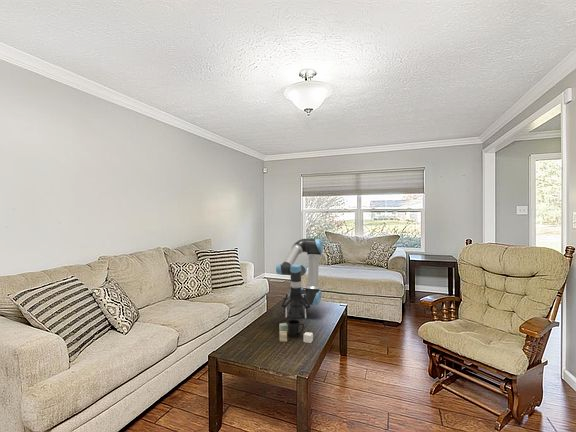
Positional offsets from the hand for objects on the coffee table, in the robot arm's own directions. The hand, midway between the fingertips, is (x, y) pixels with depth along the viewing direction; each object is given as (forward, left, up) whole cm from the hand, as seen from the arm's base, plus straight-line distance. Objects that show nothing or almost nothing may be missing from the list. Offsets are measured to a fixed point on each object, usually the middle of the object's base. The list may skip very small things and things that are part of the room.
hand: (295, 317), depth 209 cm
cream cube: (+8, +9, -13) cm, 18 cm away
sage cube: (-7, -10, -13) cm, 18 cm away
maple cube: (+8, -8, -13) cm, 17 cm away
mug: (0, 0, -13) cm, 13 cm away
